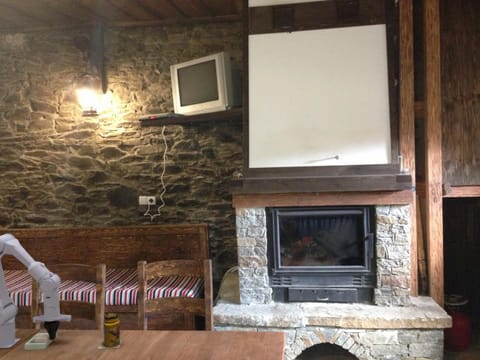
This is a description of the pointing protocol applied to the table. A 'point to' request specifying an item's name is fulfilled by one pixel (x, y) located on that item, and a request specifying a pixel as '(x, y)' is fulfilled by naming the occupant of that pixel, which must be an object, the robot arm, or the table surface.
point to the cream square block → (43, 339)
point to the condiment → (111, 332)
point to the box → (33, 345)
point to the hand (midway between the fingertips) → (52, 339)
